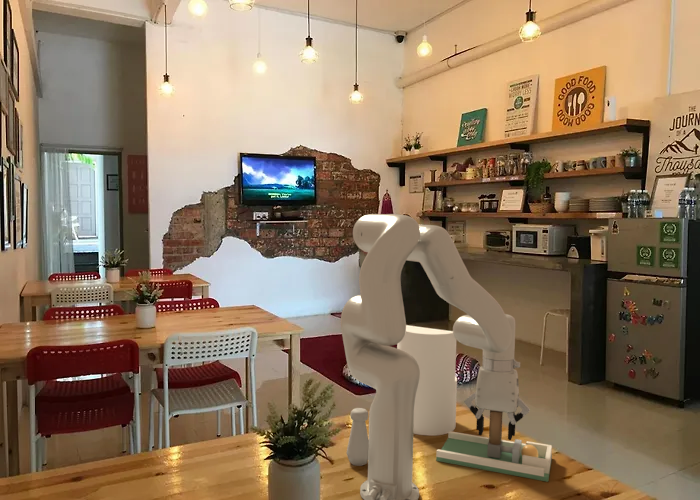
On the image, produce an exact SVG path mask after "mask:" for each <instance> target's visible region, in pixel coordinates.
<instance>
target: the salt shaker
mask: <svg viewBox="0 0 700 500" xmlns="http://www.w3.org/2000/svg"><path fill="white" fill-rule="evenodd" d="M350 419H351V420H352V423H351V428H350V434H349V438H348V443H347V449H346V456H347V460H348V461H349V463H350V464H352V466H358V467H362V466H364V465H368V449H369V433H368V429H367V424H366V421H367V420H369V410H367V409H366V408H363V407H355V408H353V409H352V410H351V411H350Z"/></svg>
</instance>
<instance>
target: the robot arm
mask: <svg viewBox="0 0 700 500" xmlns="http://www.w3.org/2000/svg"><path fill="white" fill-rule="evenodd" d="M352 237H353V242H355V245H356V246H357V247H358V249H360V250H361V251H363V252H365V253H367V254H366V256H365V257H364V260H363V261H362V263H361V266H360V269H359V275H358V281H359V282H358V283H359V292H360V294H357V295H354V296H353V297H351V298H349V299H348V300H347V301H346V303H345V304H344V306H343V308H342V311H341V314H340V329H341V336H342V341H343V346H344V353H345V358H346V359H345V360H346V363H347V368H348V370H349V373H350V374H351V376H352V378H354V379H355V380H356V381H358V382H360V383H361V384H364V385H366V386H369V387H371V388H373V390H376V391H375V396H374V398H373V400H372V402H371V404H370V408H369V411H368V440H369V449H368V461H367V479H366V480H364V482H363V483H362V484H361V485H360V487H359V490H360V491H359V493H360V496H361V498H362V499H363V500H419V497H420V489H419V488H418V486H417V485H416V484H415V483H414V482H413V468H414V467H413V466H414V465H413V463H414V434H413V432H414V406H415V397H416V392H417V388H418V384H419V379H420V369H419V365H418V363H417V361H416V360H415V359H414V358H413V357H412V356H411V355H410V354H408V353H407V352H405V351H402V350H400V349H397V347H394V346H395V345H397V344H398V343H399V342H401V341H402V339H403V338H404V336H405V333H406V325H407V322H406V321H407V320H406V314H405V313H406V312H405V306H404V301H403V293H402V286H401V285H402V284H401V281H402V280H401V276H402V275H401V274H402V271H403V268H404V265H405V263H406V261H409V262H417V263H420V265H421V267H422V268H423V270H424V272H425V273H426V275H427V277H428V279H429V280H430V283H431V285H432V287H433V289H434V291H435V293H436V294H437V295H438V296H439V298H441V299H442V300H444V301H446V303H448V304H450V305H451V306H453V307H456V308H457V309H459V310H460V311H463V312H464V313H465V314H464V315H461V316H459V317H458V318H457V319H456V320H455V322H454V323H453V327H452V331H453V334H454V337H455V338H456V342H459V343H461V345H464V346H467V347H471V348H475V349H480V350H482V360H481V361H482V366H480V367H479V368H478V369H479V370H478V373H477V379H476V385H475V391H474V392H473V393H472V394H470V395H469V396H468V397H466V398H465V399H464V400H463V403H464V405H466V406H467V408H469V411H470V412H471V413H472V414H473V416H475V419H476V428H475V430H476V431H478V436H482V435H483V433H484V427H485V425H484V423H485V417H484V414H483V413H484V411H485V410H486V411H490V410H491V411H498V412H503V413H506V414H507V416H508V419H509V422H508V428H507V440H508V441H512V438H513V437H515V436H516V424H517V422H519V421H520V420H522V419H523V418H524V417H525V416H527V415H528V414H529V413H530V411H531V409H530V407H529V406H528V404H527V403H525V401H523V399H522V398H521V397H520V390H519V389H520V387H519V386H520V385H519V384H520V383H519V374H518V371H517V369H519V368H521V361H517V360H516V359H515V346H516V345H515V344H516V319H515V317H514V316H512V315H511V314H507V313H505V311H504V309H503V308H502V306H501V305H500V304H499V302H498V301H497V300H496V299H495V298H494V296H492V295H491V294H490V293H489V292H488V291H487V290H486V289H485V288H484V287H483V286H482V285H481V284H480V283H478V281H476V280H475V279H474V278H473V277H472V275H470V272H469V271H468V269H467V266H466V265H465V263H464V261H463V259H462V257H461V255H460V253H459V251H458V249H457V247H456V245H455V243H454V240H453V238H452V236H451V235H450V234H449V231H447V230H446V229H445V228H444V227H441V226H439V225H436V224H435V225H433V224H419V223H418V221H417V220H416V219H415V218H413V217H411V216H409V215H406V214H397V213H386V214H385V213H384V214H383V213H369V214H365V215H363V216H361V217H360V218H358V220H357V221H356V222H355V223H354V225H353V229H352ZM473 402H474V403H475V404H474V403H473ZM518 408H521V410H520V411H519V412H517V409H518ZM516 412H517V413H516Z"/></svg>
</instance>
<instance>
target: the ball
mask: <svg viewBox="0 0 700 500" xmlns="http://www.w3.org/2000/svg"><path fill="white" fill-rule="evenodd" d="M521 455H522V456H523V455H527V456H532V457H538V450H537V449H536V448H535V447H534V446H532V445H526V446H524V447H523V448H522V450H521Z"/></svg>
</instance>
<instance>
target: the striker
mask: <svg viewBox="0 0 700 500" xmlns="http://www.w3.org/2000/svg"><path fill="white" fill-rule="evenodd" d="M503 413H504V412H498V411H491V410H489V427H488V428H489V431H488V438H489V442H488V449H487V456H489V457H495V458H500V456H501V454H502V452H506V453H512V462H513V463H519V460H520V456H521V444H522V443H523V442H522V439H517V438H515V439H514V441H513V442H514V445H513V448H512V447H507V446H502V440H503V439H502V436H503V435H502V433H503Z"/></svg>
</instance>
